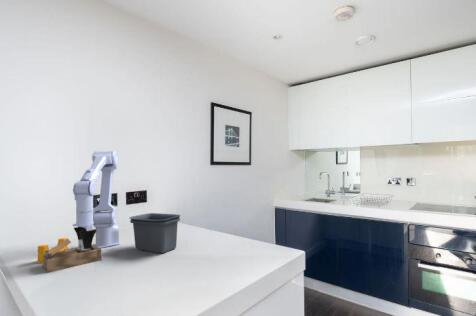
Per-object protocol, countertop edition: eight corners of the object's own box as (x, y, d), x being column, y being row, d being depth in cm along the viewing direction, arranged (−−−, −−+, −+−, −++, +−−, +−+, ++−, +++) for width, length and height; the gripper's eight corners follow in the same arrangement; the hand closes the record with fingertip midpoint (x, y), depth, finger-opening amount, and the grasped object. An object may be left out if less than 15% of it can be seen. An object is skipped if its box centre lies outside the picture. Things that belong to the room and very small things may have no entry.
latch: (48, 258, 93) (45, 255, 92) (46, 256, 96) (44, 253, 95) (71, 242, 98) (69, 240, 97) (69, 240, 101) (67, 238, 100)
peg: (89, 257, 105) (89, 237, 105) (91, 260, 102) (91, 239, 102) (77, 260, 102) (77, 239, 103) (79, 262, 99) (79, 241, 100)
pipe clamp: (58, 253, 113) (58, 237, 113) (67, 253, 112) (67, 237, 113) (33, 263, 101) (33, 246, 101) (43, 263, 100) (43, 246, 101)
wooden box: (94, 254, 109) (94, 240, 109) (101, 259, 102) (101, 245, 102) (43, 265, 97) (43, 250, 98) (47, 272, 90) (47, 256, 90)
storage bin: (125, 250, 113) (125, 217, 114) (153, 241, 127) (152, 211, 127) (162, 257, 103) (161, 220, 104) (187, 246, 117) (187, 213, 117)
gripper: (69, 211, 106) (69, 245, 105) (77, 215, 95) (77, 253, 94) (88, 208, 110) (88, 241, 110) (98, 212, 100) (98, 248, 99)
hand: (84, 246), depth 102 cm, fingers open, 7 cm apart
